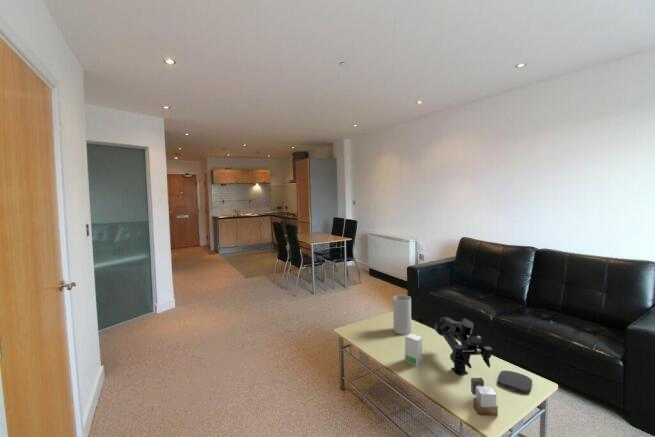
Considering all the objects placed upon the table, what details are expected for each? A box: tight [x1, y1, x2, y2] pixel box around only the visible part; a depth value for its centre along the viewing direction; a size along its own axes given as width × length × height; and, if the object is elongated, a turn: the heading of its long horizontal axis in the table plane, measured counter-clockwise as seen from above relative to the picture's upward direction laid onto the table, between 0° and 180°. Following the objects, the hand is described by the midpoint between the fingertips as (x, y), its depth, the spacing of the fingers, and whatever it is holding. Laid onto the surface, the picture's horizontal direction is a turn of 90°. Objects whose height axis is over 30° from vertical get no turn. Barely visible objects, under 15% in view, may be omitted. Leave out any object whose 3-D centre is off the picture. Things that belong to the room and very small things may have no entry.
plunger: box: [470, 377, 485, 396], centre depth 150 cm, size 8×5×7 cm, turn 177°
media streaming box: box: [497, 370, 533, 395], centre depth 164 cm, size 15×15×3 cm
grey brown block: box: [472, 385, 499, 417], centre depth 144 cm, size 6×8×10 cm
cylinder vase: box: [392, 294, 412, 336], centre depth 229 cm, size 12×12×25 cm
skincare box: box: [404, 332, 423, 367], centre depth 188 cm, size 8×7×16 cm
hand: (480, 367), depth 153 cm, fingers open, 9 cm apart
